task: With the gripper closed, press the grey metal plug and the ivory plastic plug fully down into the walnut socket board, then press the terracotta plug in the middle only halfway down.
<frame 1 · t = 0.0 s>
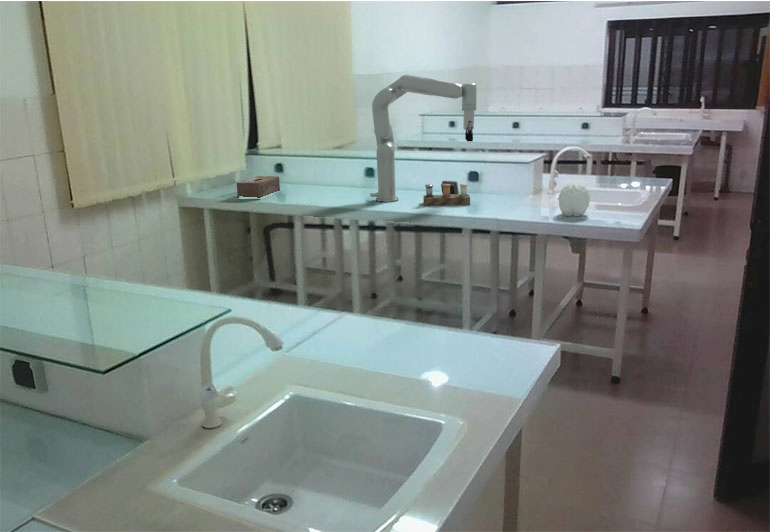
hand: (469, 140, 350), 31 cm above the counter, tool pointing down, fingers open, 9 cm apart
socket board: (446, 203, 345), on the counter
electrical switch: (450, 197, 364), on the counter
brain: (573, 214, 308), on the counter
plug terracotta: (446, 191, 343), point 7 cm above the counter, slide at 0.0 cm
plug grey: (429, 191, 343), point 7 cm above the counter, slide at 0.0 cm
tissue box cover: (259, 196, 389), on the counter
plug ivory: (463, 190, 342), point 7 cm above the counter, slide at 0.0 cm
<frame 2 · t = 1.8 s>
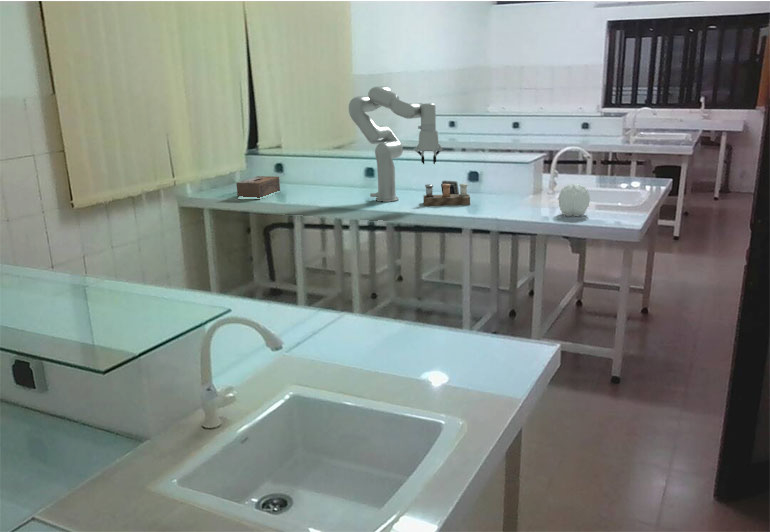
hand: (428, 163, 339), 21 cm above the counter, tool pointing down, fingers open, 4 cm apart
nothing on the counter moved.
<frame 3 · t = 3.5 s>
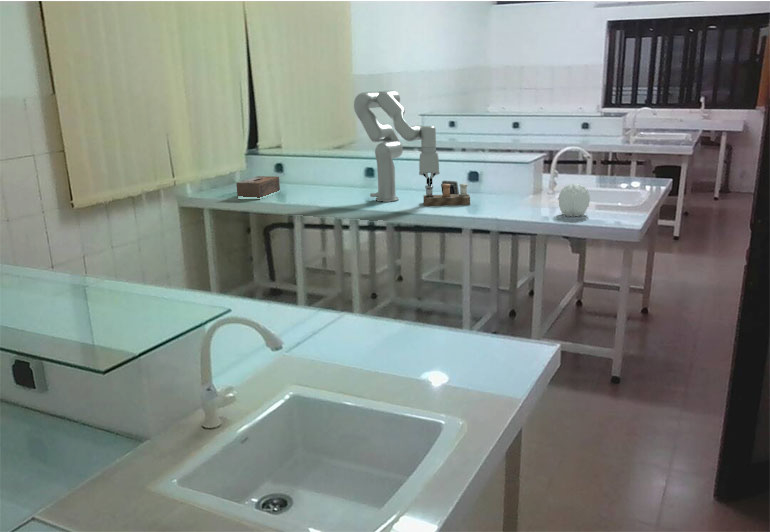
hand: (429, 185, 342), 10 cm above the counter, tool pointing down, fingers closed
plug grey: (429, 192, 343), point 6 cm above the counter, slide at 0.5 cm, touching gripper
everything else where it was.
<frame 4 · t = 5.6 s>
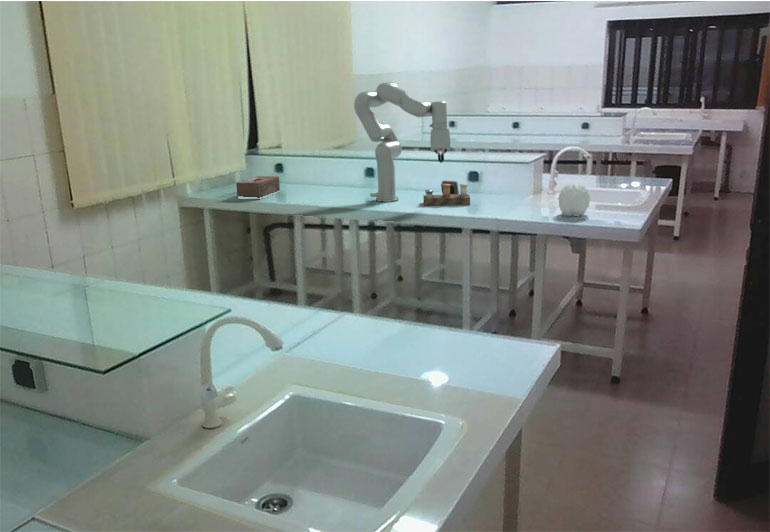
hand: (441, 162, 338), 22 cm above the counter, tool pointing down, fingers closed
plug grey: (429, 196, 344), point 4 cm above the counter, slide at 2.9 cm
everything else where it was.
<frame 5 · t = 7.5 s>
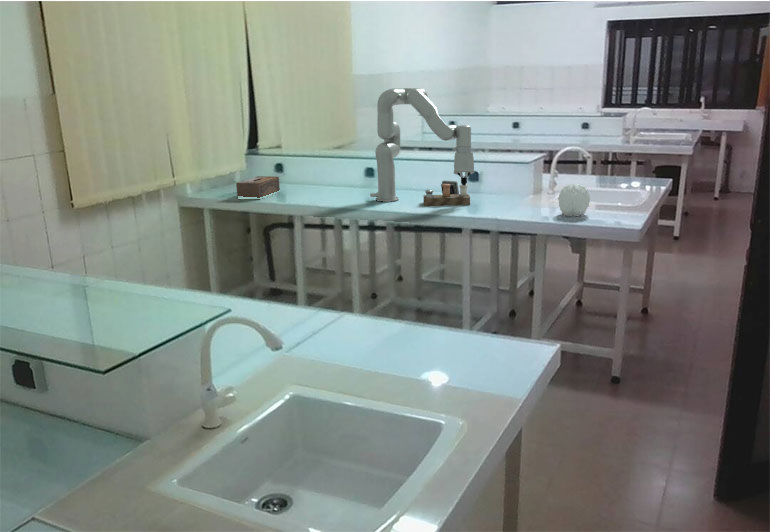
hand: (463, 185, 341), 10 cm above the counter, tool pointing down, fingers closed
plug ivory: (463, 191, 342), point 6 cm above the counter, slide at 0.6 cm, touching gripper
everything else where it was.
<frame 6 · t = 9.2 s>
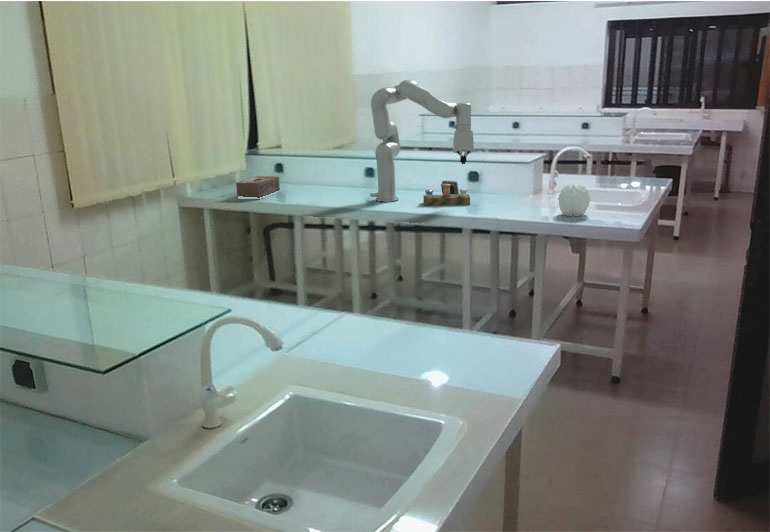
hand: (463, 163, 338), 21 cm above the counter, tool pointing down, fingers closed
plug ivory: (463, 196, 343), point 4 cm above the counter, slide at 2.8 cm
everything else where it was.
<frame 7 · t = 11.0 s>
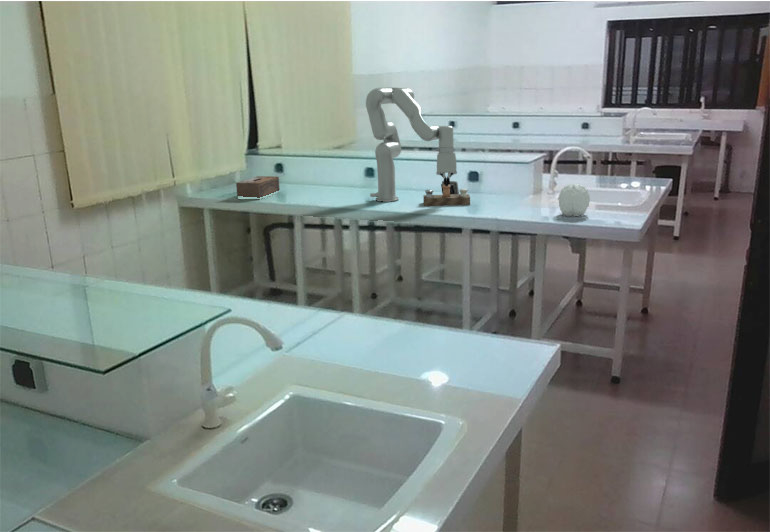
hand: (446, 185, 342), 10 cm above the counter, tool pointing down, fingers closed
plug terracotta: (446, 192, 343), point 6 cm above the counter, slide at 0.6 cm, touching gripper
everything else where it was.
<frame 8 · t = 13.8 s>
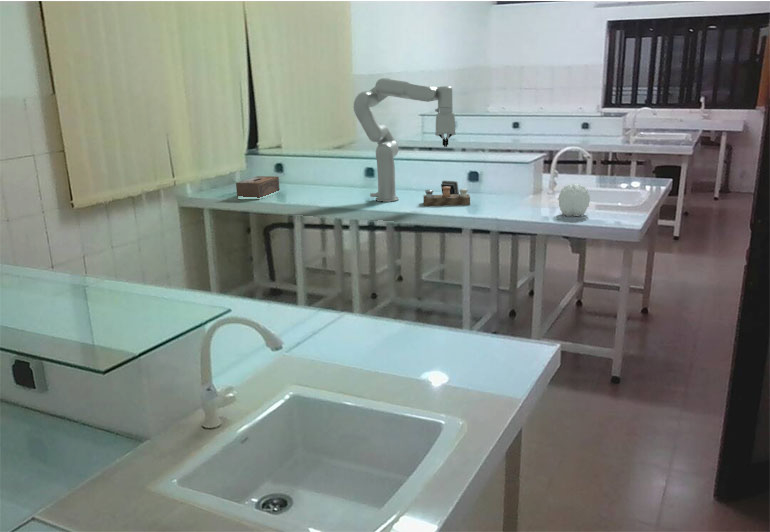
hand: (445, 146, 343), 29 cm above the counter, tool pointing down, fingers closed
plug terracotta: (446, 193, 343), point 5 cm above the counter, slide at 1.4 cm
everything else where it was.
at the end: plug grey slide at 2.9 cm; plug ivory slide at 2.8 cm; plug terracotta slide at 1.4 cm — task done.
